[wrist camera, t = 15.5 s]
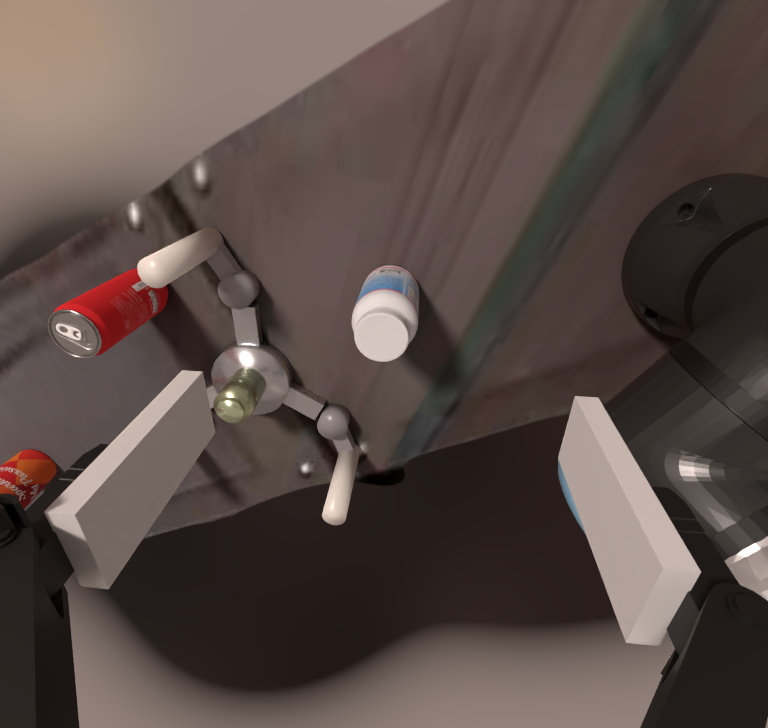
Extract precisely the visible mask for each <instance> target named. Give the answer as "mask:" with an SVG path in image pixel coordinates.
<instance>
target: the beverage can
mask: <svg viewBox="0 0 768 728" xmlns="http://www.w3.org/2000/svg"><path fill="white" fill-rule="evenodd" d="M168 297H169V290H168V287H167V285H166V286H164V287H162V288H152V287H150V286H148V285H146V284H145V283H144V282H143V281H142V280H141V278H140V277H139V274H138V271H137V269H132V270H129V271H127V272H125V273H123V274H121V275H119V276H117V277H115V278H113V279H111V280H109V281H107V282H105V283H103V284H102V285H100V286H98V287H96V288H94V289H92V290H90V291H88V292H86V293H84V294H82V295H80V296H78V297H76V298H74V299H72V300H70V301H68V302H66V303H64V304H63V305H61V306H59V307H58V308H57V309H56V310H55V311H54V313H53V314H52V315H51V316H50V318H49V320H48V330H49V333H50V335H51V337H52V339H53V340H54V342H55V343H56V344H57V345H58V347H60V348H61V349H62V350H64V351H65V352H67V353H68V354H70V355H73V356H75V357H79V358H89V357H92V356H97V355H100V354H102V353H104V352H105V351H107V350H108V349H109V348H111V347H112V346H113V345H115V344H116V343H118V342H119V341H120V340H122V339H123V338H124V337H126V336H127V335H129V334H130V333H131V332H133V331H134V330H136V329H137V328H138V327H140V326H141V325H142V324H144V323H145V322H147V321H148V320H149V319H151V318H152V317H154V316H155V315H156V314H158V313H159V312H160V311H162V310H163V309H164V307H165V306H166V303H167V300H168Z"/></svg>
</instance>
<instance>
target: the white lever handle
mask: <svg viewBox="0 0 768 728" xmlns="http://www.w3.org/2000/svg"><path fill="white" fill-rule="evenodd" d="M205 260H207V262H208V263H209V265H210V266H211V267H212V269H213V270H214V271H215V273H216V274H217V276H218V277H219V278H220V280H221V282H220V283H219V286H218V293H219V297H220V299H221V300H222V301H223V303H224V304H226V305H227V306H228V307H230V308H233V309H244V308H246V307H247V306H249V305H250V304H251V302H252V301H253V300H254V299H255V298H256V297H257V296H258V294H259V292H260V284H259V282H258V280H257V278H256V277H255V276H254V275H253V274H252V273H251V272H249V271H247V270H243V269H241V267H240V266H239V265H238V263H237V262H236V260H235V259H234V257H233V256H232V254H231V253H230V252H229V250H228V249H227V247H226V246H225V244H224V243H223V238H222V236H221V234H220V233H219V232H218V231H217V230H216V229H214V228H210V227H207V228H204V229H202V230H200V231H198V232H196V233H194V234H192V235H190V236H188V237H186V238H184V239H182V240H179V241H177V242H175V243H173V244H171V245H169V246H167V247H165V248H163V249H161V250H159V251H157V252H155V253H153V254H151V255H149V256H147V257H145V258H143V259H142V260H140V261H139V263H138V266H137V271H138V274H139V277H140V278H141V280H142V281H143V282H144V283H145V284H146V285H148V286H150V287H152V288H162V287H164V286H166V285H167V284H169V283H170V282H172V281H173V280H175V279H177V278H178V277H180V276H181V275H183V274H184V273H186V272H188V271H189V270H191V269H192V268H194V267H195V266H197V265H198V264H200V263H202V262H203V261H205Z"/></svg>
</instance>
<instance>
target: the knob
mask: <svg viewBox="0 0 768 728" xmlns="http://www.w3.org/2000/svg"><path fill="white" fill-rule="evenodd" d="M349 421H350V414H349V412H348V410H347V409H346V408H344V407H343V406H341V405H337V404H331V405H328V406H326V407H325V408H324V409H323V411H322V413H321V416H320V418H319V421H318V424H317V428H318V431H319V433H320V434H321V435H322V436H323V437H325V438H327V439H331V440H333V442H334V444H335V446H336V448H337V451H338V453H339V455H338V459H337V462H336V466H335V470H334V473H333V477H332V481H331V484H330V488H329V491H328V495H327V499H326V503H325V506H324V510H323V513H322V516H323V519H324V520H325V521H326V522H327V523H329V524H332V525H340V524H342V523H343V522H344V521H345V520H346V515H347V511H348V506H349V501H350V497H351V492H352V487H353V483H354V478H355V473H356V469H357V464H358V459H359V454H360V448H359V447H358V446H357V445H356V444H355V442H354V440H353V437H352V435H351V433H350V430H349V428H348V425H349Z"/></svg>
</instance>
